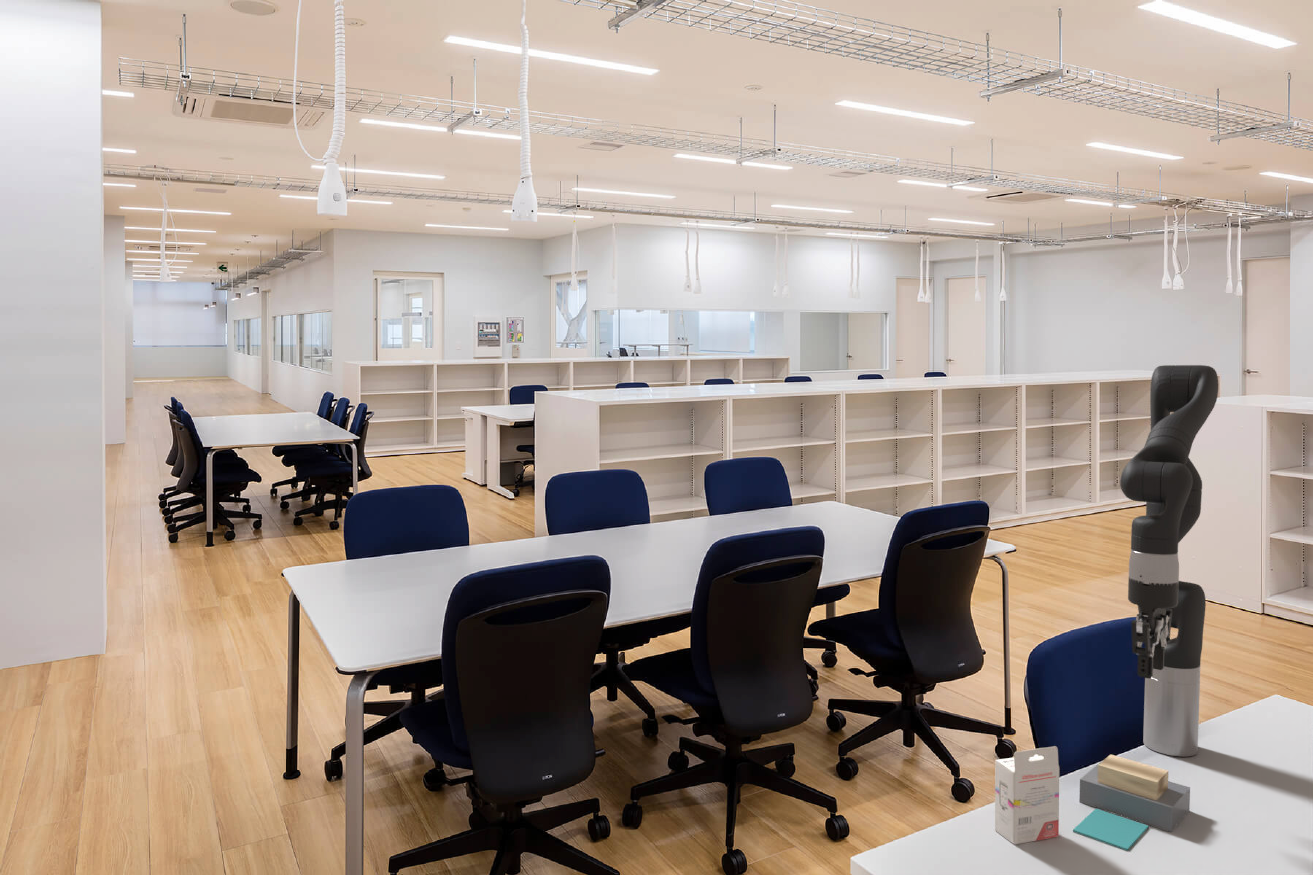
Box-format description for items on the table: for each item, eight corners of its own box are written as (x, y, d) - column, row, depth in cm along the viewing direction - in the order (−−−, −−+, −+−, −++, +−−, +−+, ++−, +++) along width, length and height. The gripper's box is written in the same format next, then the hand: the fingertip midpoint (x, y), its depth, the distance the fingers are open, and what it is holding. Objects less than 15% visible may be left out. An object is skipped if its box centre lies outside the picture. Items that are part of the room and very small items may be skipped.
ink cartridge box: (1037, 822, 140) (1039, 734, 139) (1059, 837, 135) (1061, 746, 135) (992, 829, 138) (994, 740, 137) (1013, 845, 133) (1015, 753, 132)
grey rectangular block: (1100, 783, 154) (1101, 761, 154) (1189, 810, 144) (1190, 787, 144) (1079, 801, 147) (1079, 779, 147) (1171, 831, 137) (1171, 807, 137)
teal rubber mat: (1095, 809, 144) (1095, 808, 144) (1148, 827, 138) (1148, 825, 138) (1072, 831, 137) (1072, 829, 137) (1127, 850, 131) (1127, 848, 131)
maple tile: (1110, 771, 150) (1110, 754, 150) (1167, 788, 143) (1168, 770, 143) (1097, 781, 146) (1098, 764, 145) (1156, 800, 139) (1157, 782, 139)
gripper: (1143, 567, 156) (1140, 658, 157) (1115, 580, 146) (1112, 677, 147) (1190, 573, 150) (1187, 668, 151) (1164, 587, 140) (1161, 688, 141)
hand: (1150, 672), depth 149 cm, fingers open, 5 cm apart
